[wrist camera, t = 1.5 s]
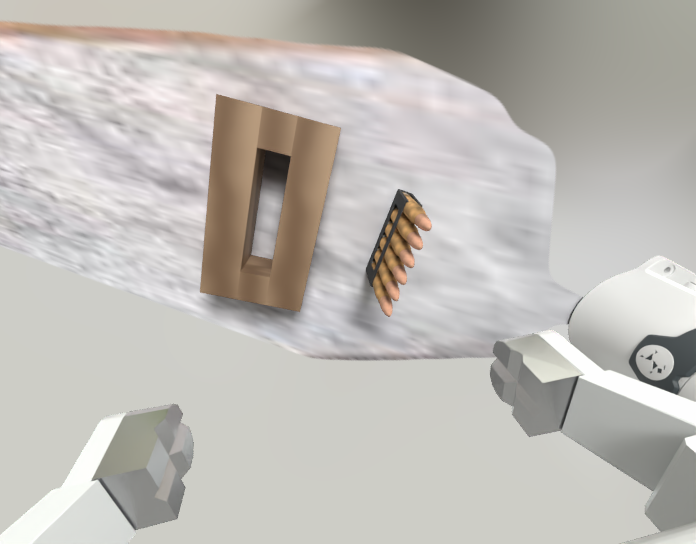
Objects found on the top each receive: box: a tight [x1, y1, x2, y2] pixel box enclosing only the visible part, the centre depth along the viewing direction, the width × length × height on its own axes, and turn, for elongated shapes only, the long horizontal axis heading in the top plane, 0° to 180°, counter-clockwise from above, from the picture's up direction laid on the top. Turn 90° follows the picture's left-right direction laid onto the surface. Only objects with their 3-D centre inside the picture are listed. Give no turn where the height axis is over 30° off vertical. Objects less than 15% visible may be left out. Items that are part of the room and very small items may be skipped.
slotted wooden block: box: [200, 94, 341, 312], centre depth 36 cm, size 11×20×5 cm, turn 166°
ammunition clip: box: [366, 189, 432, 317], centre depth 35 cm, size 11×2×12 cm, turn 161°
